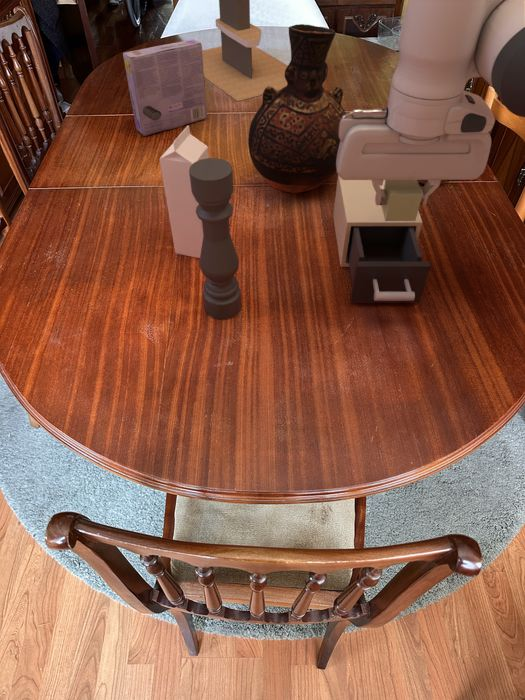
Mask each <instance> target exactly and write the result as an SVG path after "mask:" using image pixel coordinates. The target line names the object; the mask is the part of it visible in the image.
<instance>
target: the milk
mask: <svg viewBox="0 0 525 700" xmlns="http://www.w3.org/2000/svg"><path fill="white" fill-rule="evenodd" d="M209 155H210V154H209V147H208V146H207V145H206V144H205V143H204V142H202V141H201V140H200V139H198V138H196V136H194V135H193V134H191V129H190V125H187V126H186V127H185V128H184V129H183V130H182V131H181V133H179V135H178V136H177V137H176V138H175V139H174V141H173V143H172V144H171V145H169V147H168V148H167V149H166V150H165V152H164V153H163V154H162V155H161V156H160V158H159V165H160V170H161V177H162V181H163V182H162V183H163V189H164V194H165V201H166V205H167V212H168V218H169V223H170V230H171V236H172V242H173V248H174V253H175V254H177V255H182V256H187V257H192V258H196V259H200V255H201V249H202V242H203V227H202V220H200V219H199V218H198V216H197V214H196V207H197V206H198V205H199V204H198V202H197V201H196V199H195V198H194V196H193V194H192V191H191V183H190V175H189V169H190V166H191V165H192V164H193V163H194V162H197V161H199V160H201V159H207V158H210V156H209Z"/></svg>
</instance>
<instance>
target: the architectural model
mask: <svg viewBox="0 0 525 700" xmlns="http://www.w3.org/2000/svg"><path fill="white" fill-rule="evenodd" d="M218 7H219V9H218V10H219V18H216V19H215V27H216V28H217V29H218V30H220V40H221V45H220V46H217V47H212V48H211V47H210V48H208V49H202V55H203V71H204V79H206V80H207V81H209V82H211V83H212V84H213V85H215V86H216V87H218V88H219V89H220V90H221V91H223V92H224V93H225V94H227V95H229V97H231V98H232V99H234V100H235V101H236V102H240V101H241V102H242V101H244V100H248V99H251V98H255V97H259V96H263V92H264V89H265V88H266V87H267V86H271V87H273V88H274V89H275V90H277V91H280V90H281V89H282V88H284V87H286V86H287V81H286V79H285V70H286V68H287V66H288V65H289V64H286V63H285V62H283V61H281V60H280V59H278V58H277V57H274V56H273V55H271V54H269V53H268V52H266V51H265V50H262V49H261V48H259V47H258V46H260V42H261V38H262V29H260V28H259V27H258V26H256V25H253V24H252V23H251V2H250V0H218Z"/></svg>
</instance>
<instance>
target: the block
mask: <svg viewBox="0 0 525 700" xmlns="http://www.w3.org/2000/svg"><path fill="white" fill-rule="evenodd" d="M384 189H386V191H387V194H388V198H387V201H386V205H381V206H382V210H383V214H384V218H385V221H416V217H417V213H418V211H419V209H420V206H421V205H420V202H421V198H422V192H421V189H422V188H421V187H420V183H418V181H417V180H385V185H384Z"/></svg>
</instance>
